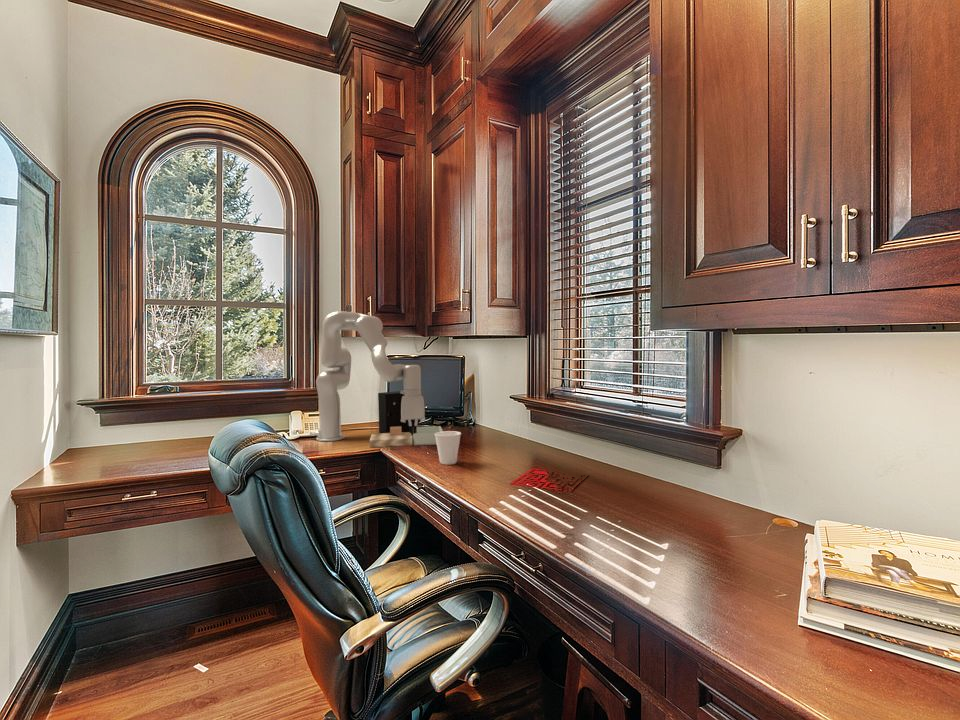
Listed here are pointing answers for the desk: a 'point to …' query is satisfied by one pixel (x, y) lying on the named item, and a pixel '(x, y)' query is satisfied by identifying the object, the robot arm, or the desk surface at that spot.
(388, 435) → the board
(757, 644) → the desk surface
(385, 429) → the electrical component
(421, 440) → the tray
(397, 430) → the tile terracotta
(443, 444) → the cup
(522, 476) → the maze puzzle
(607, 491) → the desk surface
